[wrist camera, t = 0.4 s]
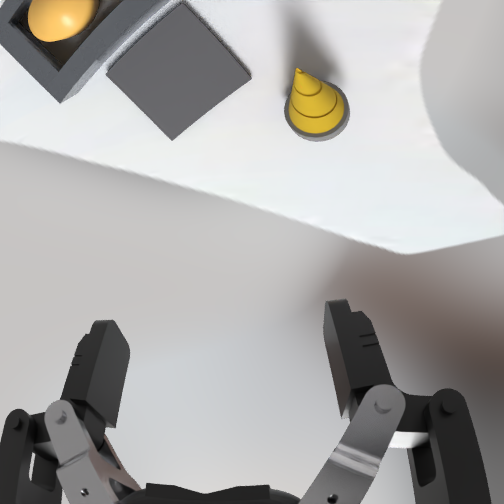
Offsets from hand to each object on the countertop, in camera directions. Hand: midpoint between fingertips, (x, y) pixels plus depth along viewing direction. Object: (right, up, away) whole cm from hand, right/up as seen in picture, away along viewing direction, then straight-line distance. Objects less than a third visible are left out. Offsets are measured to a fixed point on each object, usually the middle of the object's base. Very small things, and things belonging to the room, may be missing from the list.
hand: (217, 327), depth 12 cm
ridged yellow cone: (+6, +16, +14) cm, 22 cm away
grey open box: (-14, +24, +7) cm, 28 cm away
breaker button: (-14, +23, +5) cm, 27 cm away
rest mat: (-5, +18, +12) cm, 22 cm away
